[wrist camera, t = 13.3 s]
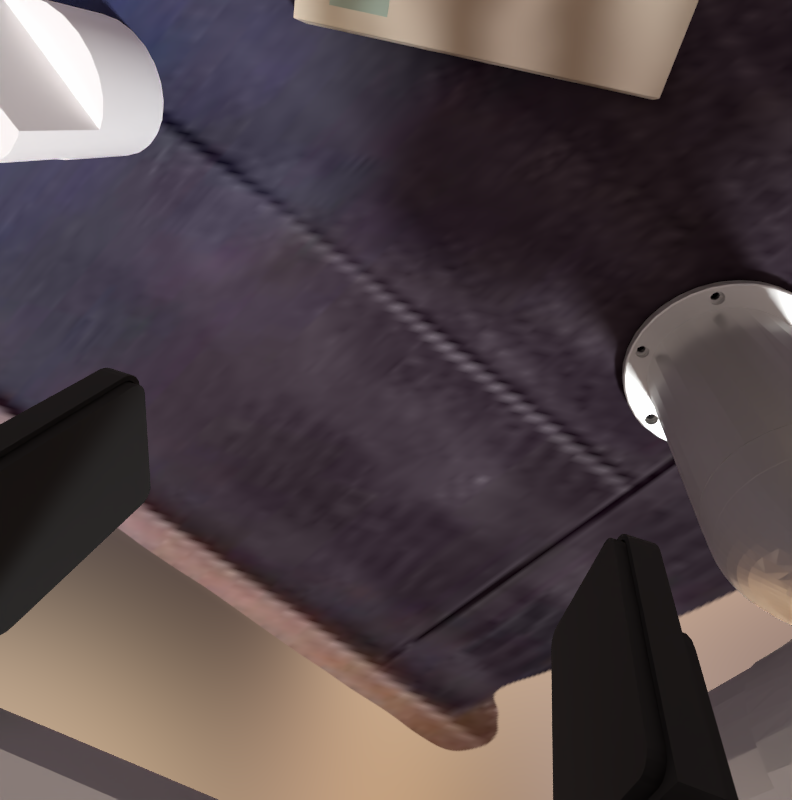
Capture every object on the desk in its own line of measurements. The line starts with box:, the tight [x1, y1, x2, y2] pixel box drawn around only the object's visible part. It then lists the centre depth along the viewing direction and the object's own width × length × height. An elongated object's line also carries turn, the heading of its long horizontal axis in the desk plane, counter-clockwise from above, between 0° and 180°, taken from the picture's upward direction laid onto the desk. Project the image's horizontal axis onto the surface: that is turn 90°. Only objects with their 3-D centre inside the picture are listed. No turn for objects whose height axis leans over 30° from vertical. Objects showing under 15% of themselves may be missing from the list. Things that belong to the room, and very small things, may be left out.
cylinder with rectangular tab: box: [0, 0, 164, 163], centre depth 33 cm, size 9×9×12 cm
